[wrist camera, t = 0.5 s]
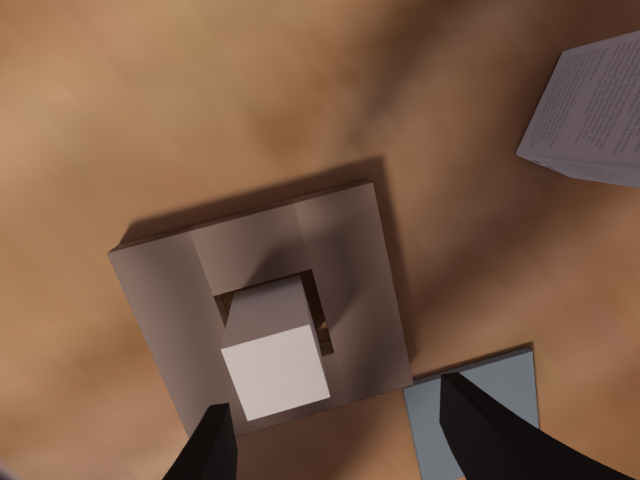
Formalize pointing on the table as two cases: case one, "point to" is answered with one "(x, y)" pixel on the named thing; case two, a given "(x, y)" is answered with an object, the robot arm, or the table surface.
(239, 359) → the cream block
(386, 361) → the puzzle board
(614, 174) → the skincare box
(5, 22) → the table surface
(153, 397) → the table surface
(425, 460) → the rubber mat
